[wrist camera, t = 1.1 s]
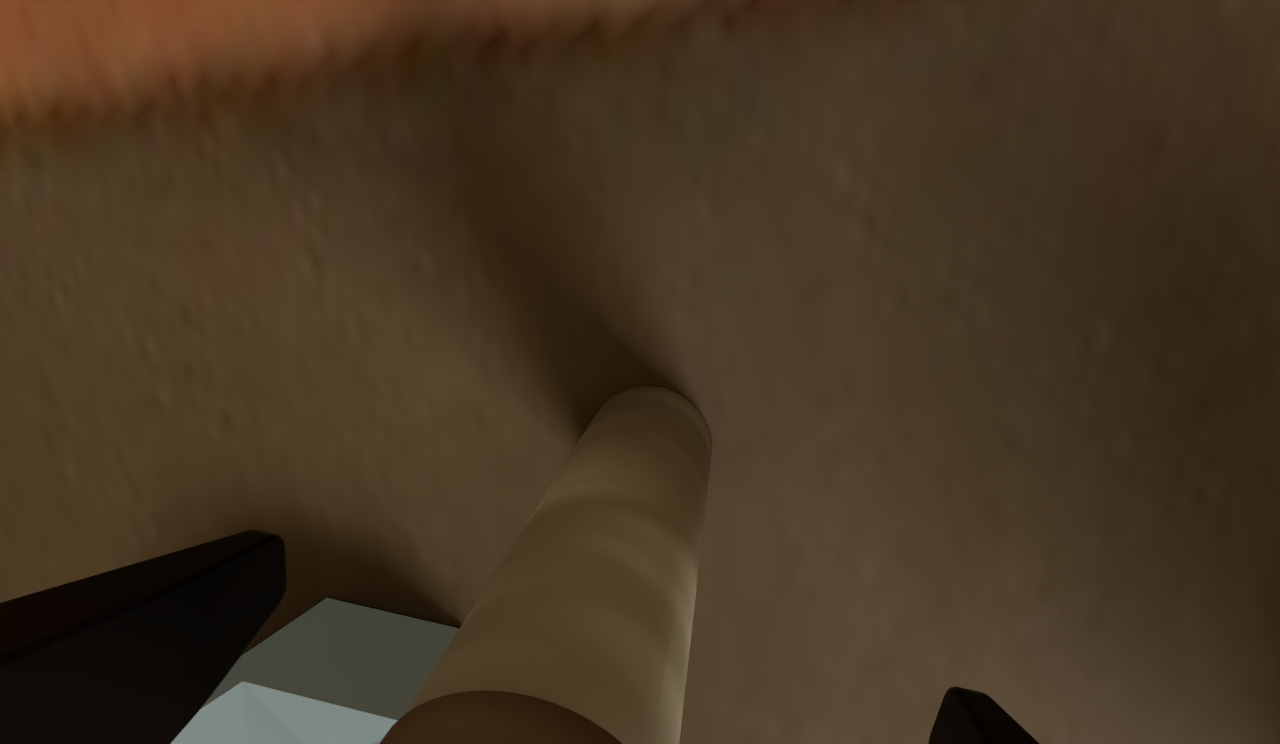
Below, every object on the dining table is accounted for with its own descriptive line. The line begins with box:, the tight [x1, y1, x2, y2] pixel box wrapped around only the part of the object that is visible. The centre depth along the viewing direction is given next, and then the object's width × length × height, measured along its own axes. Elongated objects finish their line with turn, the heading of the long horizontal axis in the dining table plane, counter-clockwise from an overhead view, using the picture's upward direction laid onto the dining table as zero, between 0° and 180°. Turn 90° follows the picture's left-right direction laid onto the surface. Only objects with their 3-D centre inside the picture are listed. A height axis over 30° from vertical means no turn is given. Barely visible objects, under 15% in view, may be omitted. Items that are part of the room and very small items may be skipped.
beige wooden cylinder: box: [380, 386, 712, 744], centre depth 9 cm, size 3×3×10 cm
